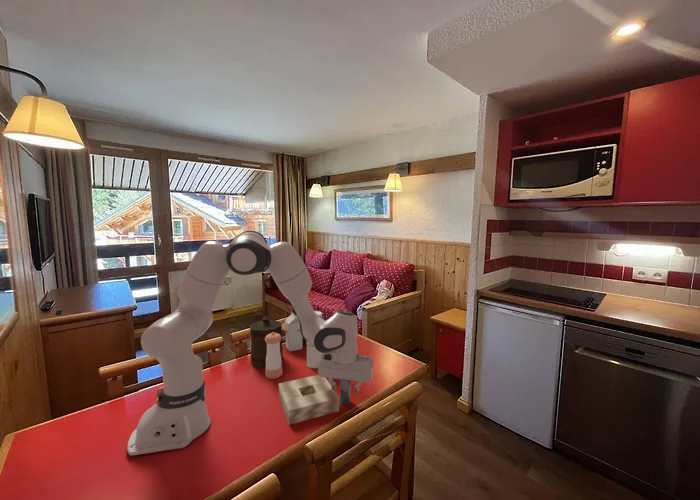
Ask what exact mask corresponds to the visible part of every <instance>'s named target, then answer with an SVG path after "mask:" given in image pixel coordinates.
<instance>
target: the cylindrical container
mask: <svg viewBox="0 0 700 500" xmlns="http://www.w3.org/2000/svg"><path fill="white" fill-rule="evenodd" d="M314 312H315V313H316V314H317V315H319V316H320V317H321V318H323V313H322V312H321V311H320V310H319V311H318V310H314ZM321 354H322V353H321V352H319V351H318V350H316V349H315V348H314V347H313V346H312V345H311V344H310V343H309V342H308V341H307V340H306V366H307V367H308V368H310V369H318V367H319V362H320V360H321Z"/></svg>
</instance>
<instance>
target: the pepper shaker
mask: <svg viewBox="0 0 700 500" xmlns="http://www.w3.org/2000/svg"><path fill="white" fill-rule="evenodd" d="M280 341H281V336H280V334H278V333H274V332H272V333H270V334H268V335H267V336H266V337H265V342H266V343H267V355H266V368H264V371H265V372H264V373H265V377H266V378H267V379H270V380H271V379H272V380H273V379H277V378H280V377H281V376H282V375H283V365H282V362H281V354H280Z"/></svg>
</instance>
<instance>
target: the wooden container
mask: <svg viewBox="0 0 700 500" xmlns="http://www.w3.org/2000/svg"><path fill="white" fill-rule="evenodd" d="M249 332H250V333H249V341H250V342H249V343H250V344H249V346H250V349H249V350H250V364H251V366H252V367H255V368H258V369H265V368H266V355H267V343H266V342H265V337H266V336H267V335H268V334H270V333H272V332H274V333H278V334H280V336H281V341H280V354H281V363H282V362H283V359H284V358H283V357H284V355H283V354H284V353H283V352H284V351H283V330H282V322H281V321H278V320H276V319H275V320H274V319H270V317H269V316H263V317H262V320H258V321H255V322H253V323H252V324H250V325H249Z"/></svg>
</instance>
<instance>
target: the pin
mask: <svg viewBox="0 0 700 500" xmlns="http://www.w3.org/2000/svg"><path fill="white" fill-rule="evenodd" d="M351 382H352V380H347V379H339V405H342V406H348V405H351V402H352V399H351V398H352V397H351V391H352V390H351V389H352V384H351Z"/></svg>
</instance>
